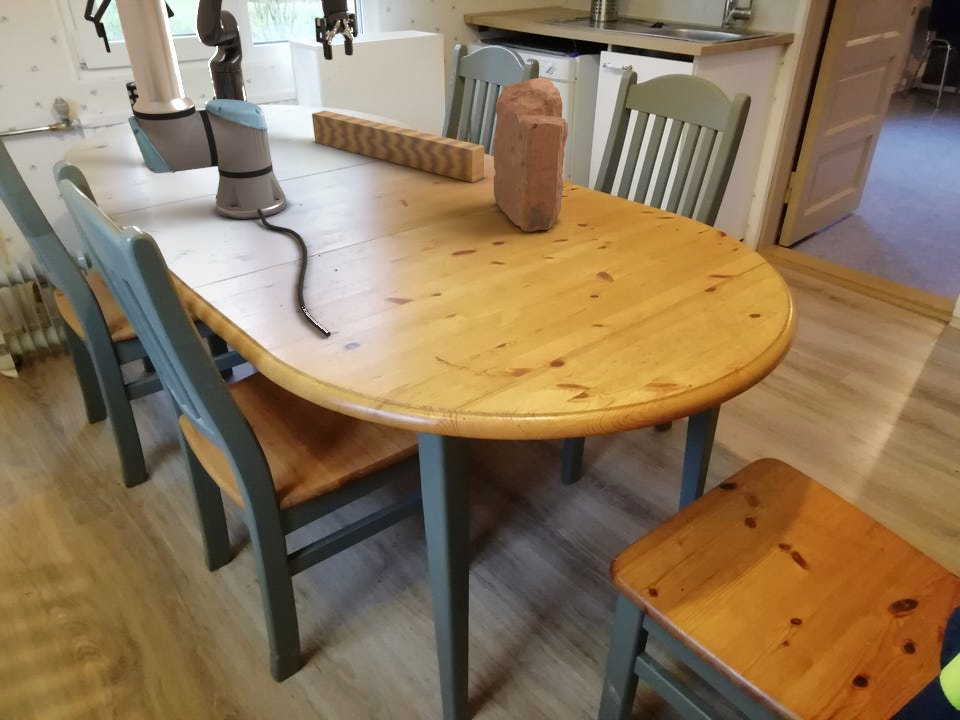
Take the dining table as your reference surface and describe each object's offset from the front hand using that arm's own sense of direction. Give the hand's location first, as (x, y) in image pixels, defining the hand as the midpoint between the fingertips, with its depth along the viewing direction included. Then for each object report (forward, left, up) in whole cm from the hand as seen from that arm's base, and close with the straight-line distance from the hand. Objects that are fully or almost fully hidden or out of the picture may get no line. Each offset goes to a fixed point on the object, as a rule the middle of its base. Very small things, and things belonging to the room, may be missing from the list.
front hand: (138, 50), depth 174 cm
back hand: (-9, -49, -4) cm, 50 cm away
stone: (-81, -67, -28) cm, 109 cm away
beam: (-28, -56, -28) cm, 68 cm away
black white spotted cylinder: (-3, +1, -17) cm, 18 cm away
